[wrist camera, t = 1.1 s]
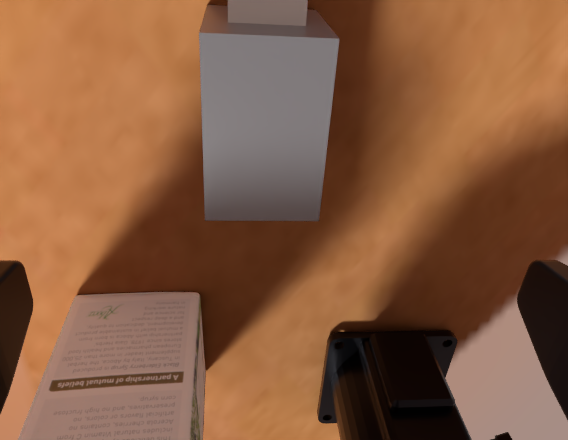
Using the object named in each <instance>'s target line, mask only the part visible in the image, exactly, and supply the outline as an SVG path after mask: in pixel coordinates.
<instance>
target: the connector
mask: <svg viewBox="0 0 568 440" xmlns="http://www.w3.org/2000/svg"><path fill="white" fill-rule="evenodd" d="M307 4H308V0H228V6H223V5H207V7H206V11H205V14H204V18H203V21H202V25H201V28H200V32H199V41H200V74H201V107H202V140H203V173H204V206H205V221H319V215H320V206H321V197H322V188H323V179H324V171H325V162H326V153H327V144H328V135H329V126H330V118H331V109H332V100H333V91H334V82H335V74H336V65H337V56H338V47H339V38H338V36H337V35H336V34H335V33H334V31H333V30H332V29H331V28H330V26H329V25H328V24H327V23H326V21H325V20H324V19H323V18H322V17H321V15H320V14H319V13H318V12H317V10H307Z"/></svg>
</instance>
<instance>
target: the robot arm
mask: <svg viewBox="0 0 568 440" xmlns="http://www.w3.org/2000/svg"><path fill="white" fill-rule="evenodd" d="M517 303H518V308H519V310H520V313H521V315H522V318H523V321H524V323H525V326H526V328H527V331H528V333H529V336H530V338H531V341H532V343H533V346H534V349H535V351H536V354H537V356H538V359H539V361H540V363H541V366H542V369H543V371H544V373H545V376H546V378H547V380H548V382H549V385H550V387H551V389H552V391H553V393H554V394H555V397H556V398H557V400H558V402H559V404H560V406H561V408H562V410H563V412H564V414H565V415H566V418H567V420H568V266H567V265H565V264H563V263H561V262H559V261H556V260H536V261H533V262H532V263H531V264H530V265H529V267H528V270H527V272H526V275H525V277H524V280H523V282H522V285H521V288H520V290H519V293H518V297H517ZM32 311H33V298H32V294H31V290H30V286H29V283H28V279H27V275H26V272H25V268H24V266H23V264H22V263H21V262H19V261H0V413H1V411H2V409H3V406H4V403H5V401H6V398H7V396H8V393H9V390H10V387H11V384H12V381H13V377H14V374H15V370H16V367H17V364H18V360H19V357H20V353H21V350H22V346H23V343H24V339H25V336H26V332H27V329H28V325H29V322H30V319H31V315H32ZM445 340H446V341H445ZM337 342H340V343H337ZM456 345H457V339H456V337H455V335H454V333H453V332H451V331H448V330H438V331H382V332H337V333H334V334H332V335H330V336H329V338H328V341H327V348H326V355H325V361H324V368H323V375H322V382H321V389H320V396H319V403H318V409H317V414H318V420H319V421H320V422H321V423H337V424H338V429H339V434H340V439H341V440H471V437H470V435H469V433H468V431H467V429H466V426H465V424H464V422H463V419H462V417H461V415H460V413H459V410H458V408H457V406H456V404H455V399H454V397H453V395H452V393H451V390H450V388H449V386H448V384H447V382H446V379H445V377H446V374H447V371H448V368H449V365H450V362H451V360H452V357H453V354H454V351H455V348H456ZM491 440H512V438H511V437H510V435H509V433H508V432H506V433H503V434H500V435H496V436H495V439H491Z"/></svg>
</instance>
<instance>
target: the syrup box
mask: <svg viewBox="0 0 568 440" xmlns="http://www.w3.org/2000/svg"><path fill="white" fill-rule="evenodd" d="M205 377H206V368H205V357H204V343H203V331H202V315H201V299H200V294H199V293H196V292H147V293H117V294H92V295H77V296H76V297H75V298H74V300H73V302H72V304H71V307H70V310H69V312H68V315H67V317H66V320H65V322H64V324H63V327H62V330H61V332H60V335H59V337H58V339H57V342H56V345H55V347H54V349H53V352H52V355H51V357H50V359H49V362H48V364H47V367H46V370H45V372H44V374H43V377H42V380H41V382H40V385H39V387H38V390H37V392H36V395H35V397H34V400H33V402H32V405H31V407H30V410H29V413H28V415H27V418H26V420H25V423H24V425H23V428H22V431H21V433H20V436H19V438H18V440H203V425H204V401H205Z"/></svg>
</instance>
